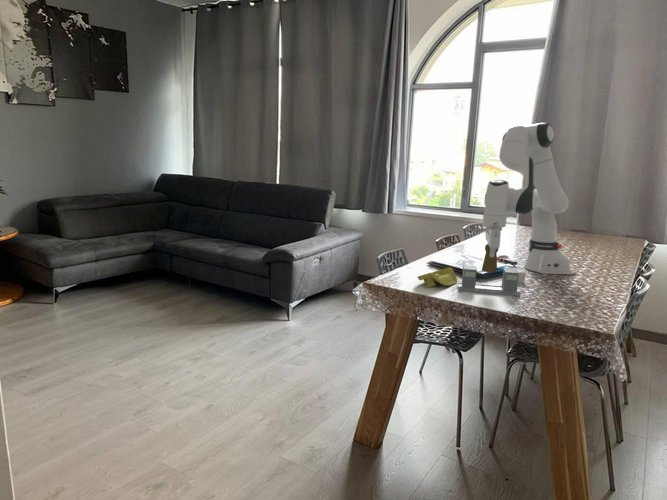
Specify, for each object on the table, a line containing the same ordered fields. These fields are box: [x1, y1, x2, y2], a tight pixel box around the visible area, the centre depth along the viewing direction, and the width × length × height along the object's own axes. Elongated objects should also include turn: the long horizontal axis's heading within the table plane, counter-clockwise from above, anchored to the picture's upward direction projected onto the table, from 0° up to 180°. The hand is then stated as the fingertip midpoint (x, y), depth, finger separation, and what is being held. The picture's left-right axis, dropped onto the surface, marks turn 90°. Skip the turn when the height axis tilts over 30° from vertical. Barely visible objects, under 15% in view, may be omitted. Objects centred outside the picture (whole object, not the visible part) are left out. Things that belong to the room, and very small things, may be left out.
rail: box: [457, 281, 521, 297], centre depth 201 cm, size 24×7×2 cm, turn 78°
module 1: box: [461, 264, 478, 289], centre depth 201 cm, size 5×7×8 cm
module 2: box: [501, 267, 519, 293], centre depth 198 cm, size 5×7×8 cm
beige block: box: [516, 268, 526, 284], centre depth 216 cm, size 4×5×5 cm
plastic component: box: [417, 266, 458, 288], centre depth 209 cm, size 20×7×10 cm
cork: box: [481, 243, 499, 274], centre depth 198 cm, size 6×6×11 cm
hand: (490, 255), depth 198 cm, fingers closed on cork, 4 cm apart
